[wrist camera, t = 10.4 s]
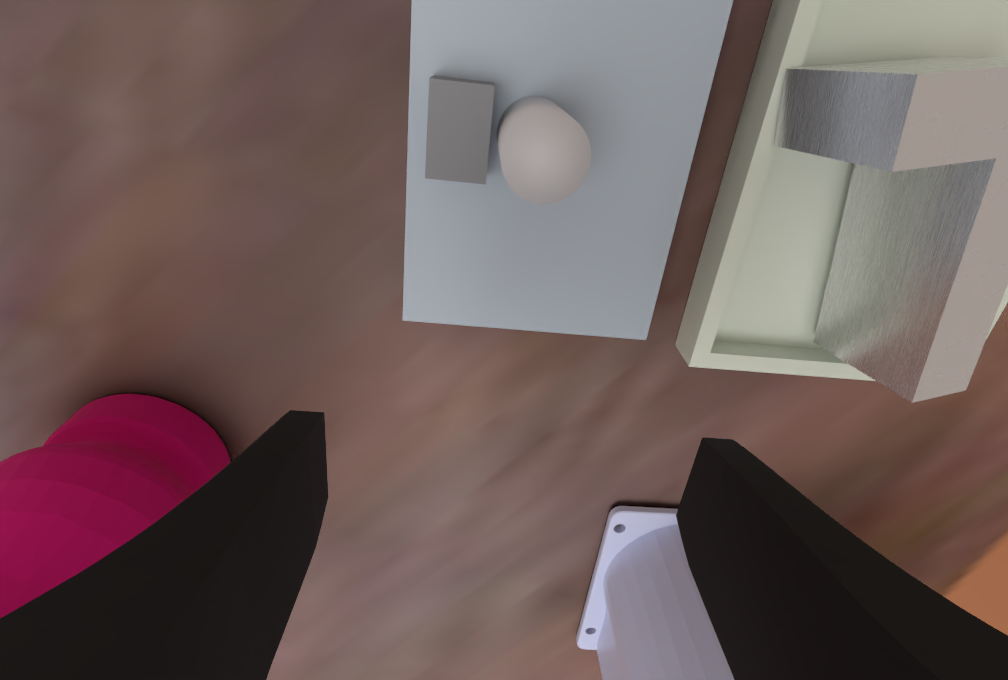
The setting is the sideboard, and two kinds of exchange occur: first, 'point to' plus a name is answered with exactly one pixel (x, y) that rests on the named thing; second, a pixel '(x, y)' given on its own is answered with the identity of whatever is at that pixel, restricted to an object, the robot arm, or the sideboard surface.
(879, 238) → the hook
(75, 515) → the pepper mill
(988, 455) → the sideboard surface
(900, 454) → the sideboard surface
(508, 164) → the vise block
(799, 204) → the tray
